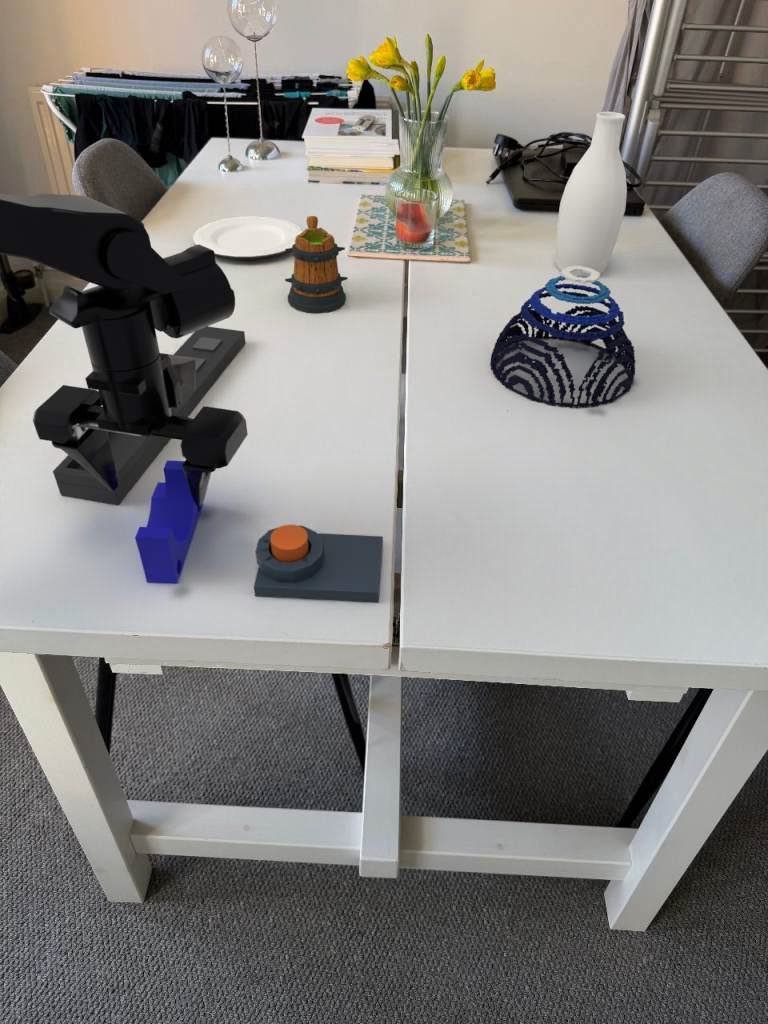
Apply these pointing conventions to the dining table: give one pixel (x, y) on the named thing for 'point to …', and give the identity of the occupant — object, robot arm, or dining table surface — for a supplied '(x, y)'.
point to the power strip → (139, 451)
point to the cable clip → (168, 527)
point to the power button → (289, 543)
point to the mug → (315, 271)
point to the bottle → (593, 201)
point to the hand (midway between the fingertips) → (157, 495)
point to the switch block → (323, 569)
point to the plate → (247, 237)
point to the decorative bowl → (586, 338)
